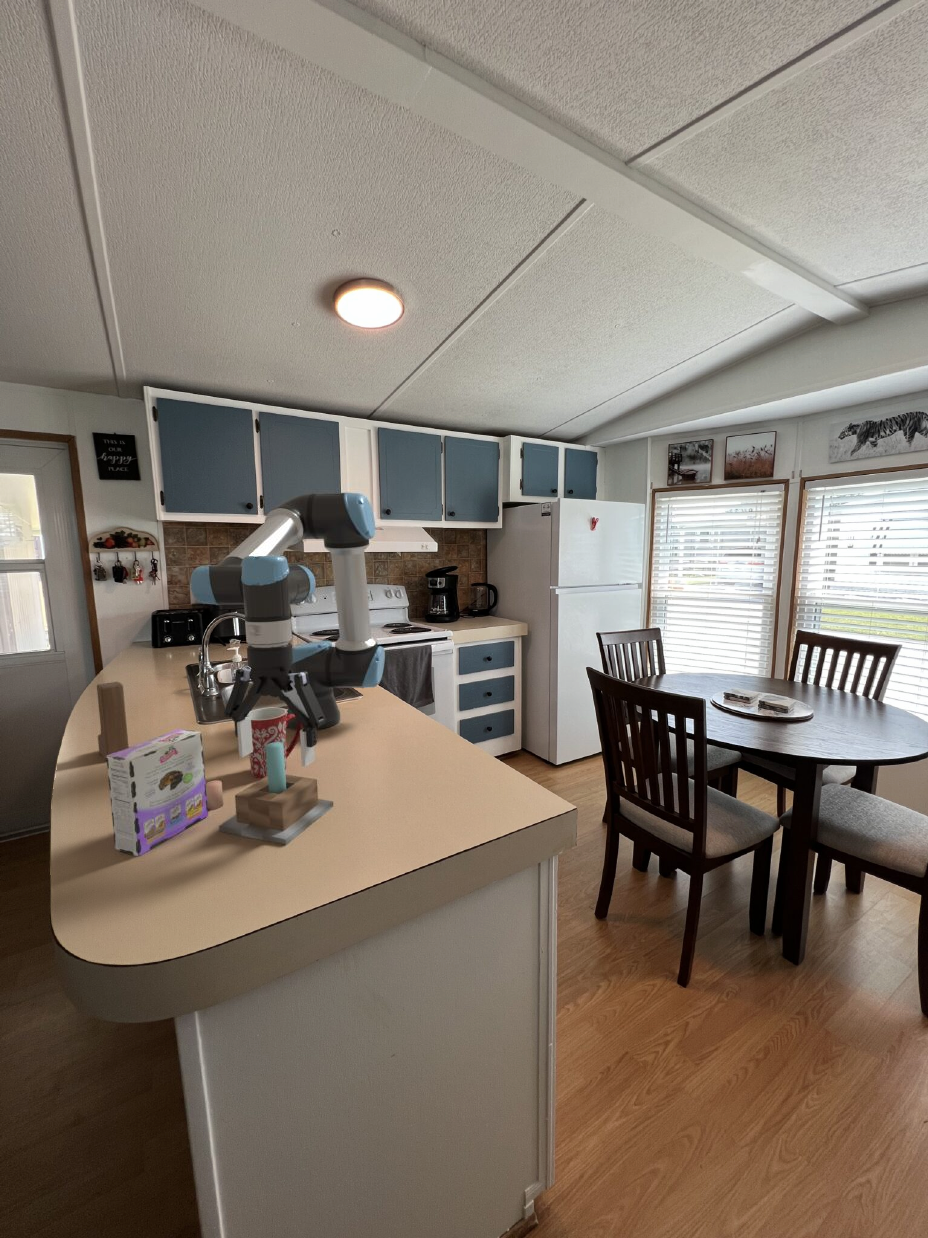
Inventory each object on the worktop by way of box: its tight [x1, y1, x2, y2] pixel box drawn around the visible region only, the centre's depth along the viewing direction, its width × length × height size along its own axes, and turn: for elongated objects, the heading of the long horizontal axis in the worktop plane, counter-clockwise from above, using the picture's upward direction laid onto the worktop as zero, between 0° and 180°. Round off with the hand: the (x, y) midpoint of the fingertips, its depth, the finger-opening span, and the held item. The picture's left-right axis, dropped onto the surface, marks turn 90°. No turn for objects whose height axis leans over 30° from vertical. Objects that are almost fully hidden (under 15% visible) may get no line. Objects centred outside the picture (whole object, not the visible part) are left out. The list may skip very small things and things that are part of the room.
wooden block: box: [96, 681, 129, 761], centre depth 124 cm, size 9×4×18 cm, turn 46°
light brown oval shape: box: [205, 780, 224, 811], centre depth 98 cm, size 3×3×4 cm
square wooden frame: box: [218, 773, 334, 846], centre depth 93 cm, size 14×14×6 cm
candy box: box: [106, 728, 209, 857], centre depth 88 cm, size 14×6×16 cm, turn 159°
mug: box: [245, 706, 302, 779], centre depth 115 cm, size 13×9×14 cm
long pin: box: [266, 742, 286, 794], centre depth 93 cm, size 3×3×14 cm
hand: (276, 759), depth 93 cm, fingers open, 13 cm apart
